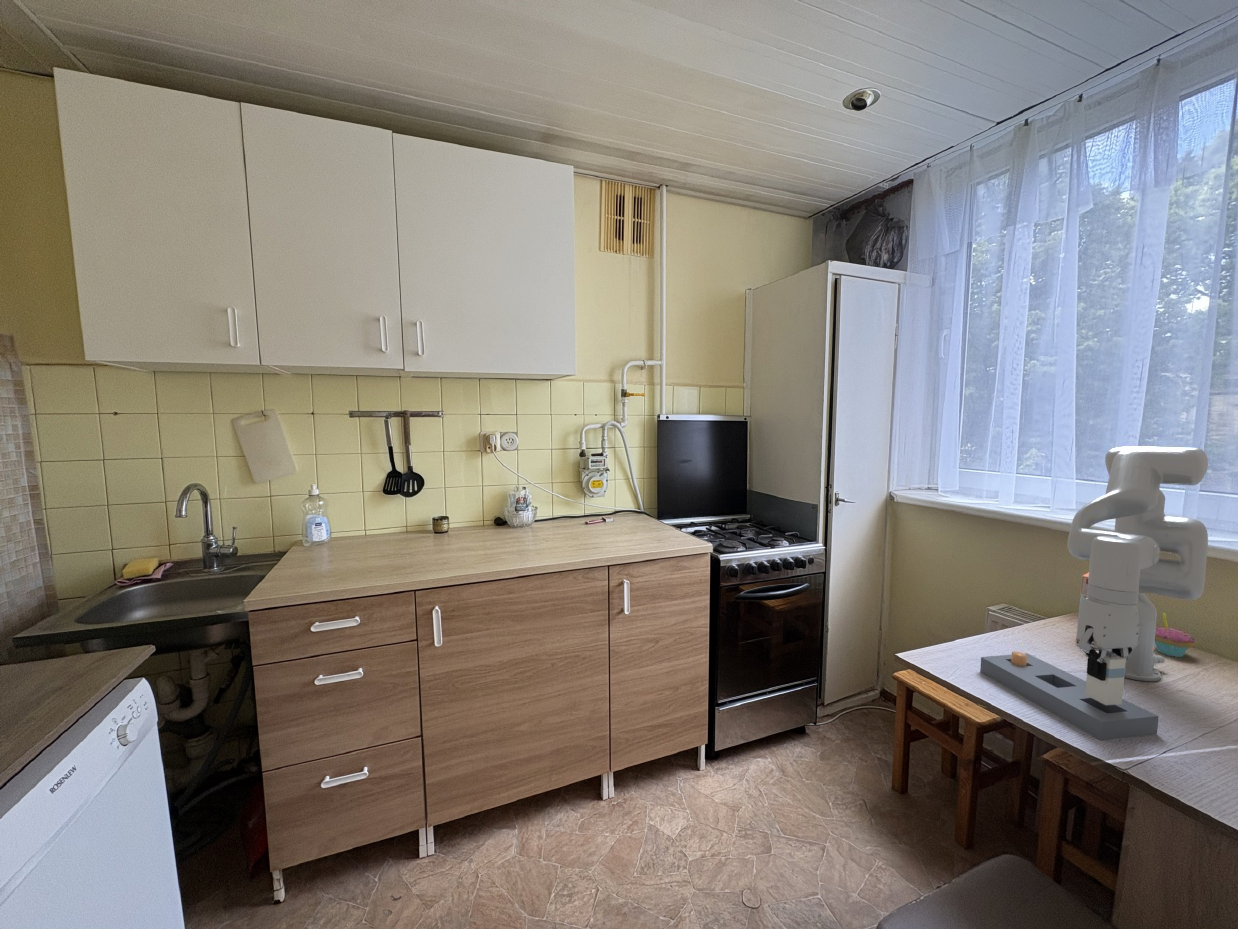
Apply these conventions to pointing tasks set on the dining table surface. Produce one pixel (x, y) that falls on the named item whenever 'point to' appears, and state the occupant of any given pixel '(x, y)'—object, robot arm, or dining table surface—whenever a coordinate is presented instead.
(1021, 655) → the brown egg
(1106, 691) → the plug
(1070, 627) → the dining table surface
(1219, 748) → the dining table surface
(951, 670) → the dining table surface
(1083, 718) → the panel
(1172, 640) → the cupcake
